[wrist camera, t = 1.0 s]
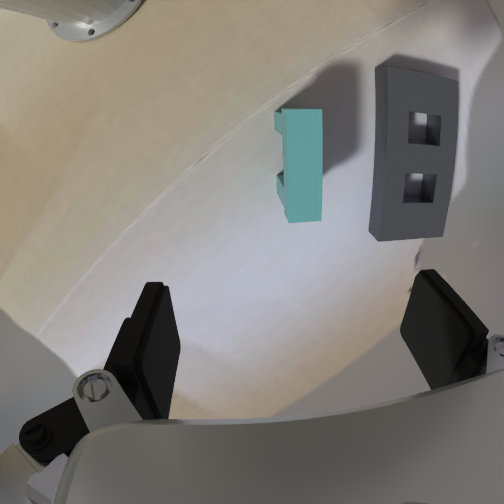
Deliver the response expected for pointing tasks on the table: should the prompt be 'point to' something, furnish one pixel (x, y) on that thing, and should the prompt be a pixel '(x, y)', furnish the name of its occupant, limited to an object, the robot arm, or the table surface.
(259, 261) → the table surface
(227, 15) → the table surface
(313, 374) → the table surface
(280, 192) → the clip
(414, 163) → the gray slotted base plate
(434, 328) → the robot arm
